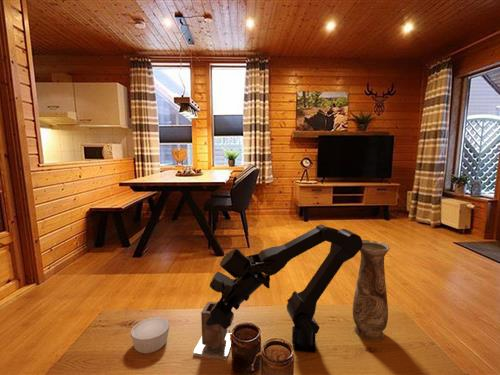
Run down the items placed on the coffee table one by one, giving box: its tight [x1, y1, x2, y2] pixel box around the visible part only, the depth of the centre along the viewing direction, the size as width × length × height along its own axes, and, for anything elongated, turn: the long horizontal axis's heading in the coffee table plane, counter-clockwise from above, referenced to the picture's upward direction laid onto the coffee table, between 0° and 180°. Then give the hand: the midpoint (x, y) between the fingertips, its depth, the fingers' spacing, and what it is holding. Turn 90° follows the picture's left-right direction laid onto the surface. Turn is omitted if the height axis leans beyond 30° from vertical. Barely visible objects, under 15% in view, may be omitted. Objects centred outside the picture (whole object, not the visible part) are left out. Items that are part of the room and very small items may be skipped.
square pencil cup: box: [200, 301, 228, 347], centre depth 79 cm, size 6×6×10 cm
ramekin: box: [130, 316, 170, 354], centre depth 81 cm, size 11×11×5 cm
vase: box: [352, 239, 391, 342], centre depth 84 cm, size 10×11×30 cm
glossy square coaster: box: [192, 332, 232, 361], centre depth 80 cm, size 10×10×5 cm
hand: (210, 318), depth 79 cm, fingers closed on square pencil cup, 6 cm apart
